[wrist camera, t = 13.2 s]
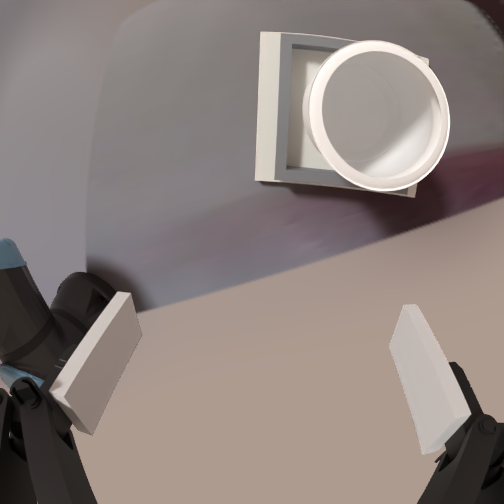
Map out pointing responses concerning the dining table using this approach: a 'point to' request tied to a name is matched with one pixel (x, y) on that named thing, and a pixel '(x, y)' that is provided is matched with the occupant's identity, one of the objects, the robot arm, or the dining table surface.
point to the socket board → (294, 112)
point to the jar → (377, 115)
